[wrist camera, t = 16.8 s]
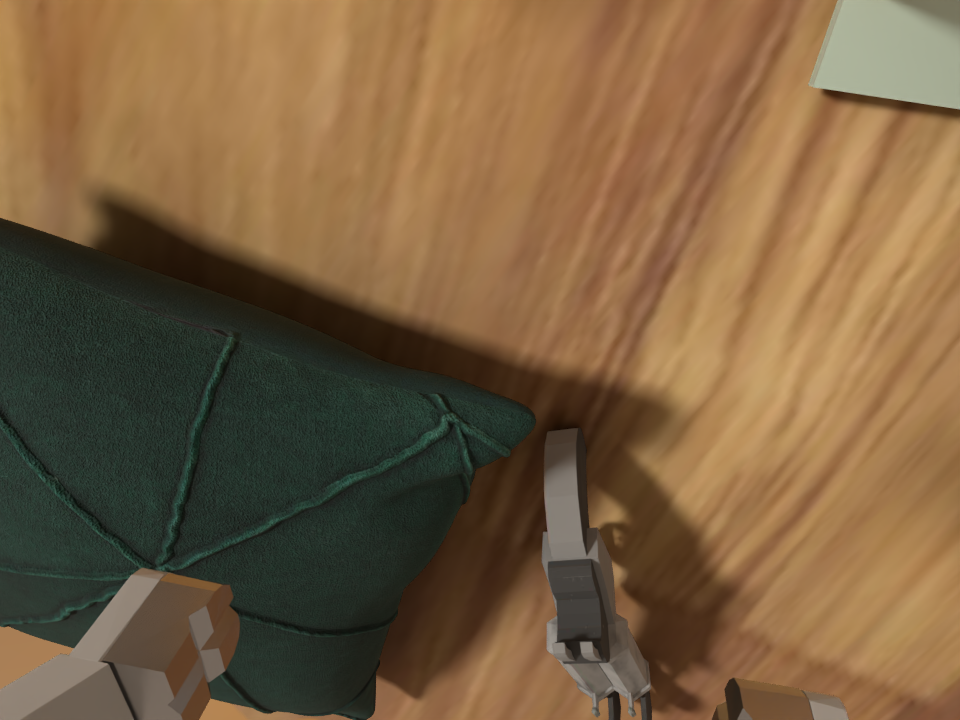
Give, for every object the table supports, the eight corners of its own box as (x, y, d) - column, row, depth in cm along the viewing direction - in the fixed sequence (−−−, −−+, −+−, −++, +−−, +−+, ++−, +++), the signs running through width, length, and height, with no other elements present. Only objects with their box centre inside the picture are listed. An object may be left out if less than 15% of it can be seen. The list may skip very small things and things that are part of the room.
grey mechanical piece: (596, 410, 45) (610, 647, 35) (650, 568, 65) (669, 747, 55) (519, 420, 47) (511, 650, 37) (596, 571, 67) (604, 746, 57)
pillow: (506, 578, 27) (346, 836, 55) (557, 328, 41) (409, 634, 69) (-518, 201, 26) (-148, 660, 54) (-102, 79, 40) (19, 492, 68)
